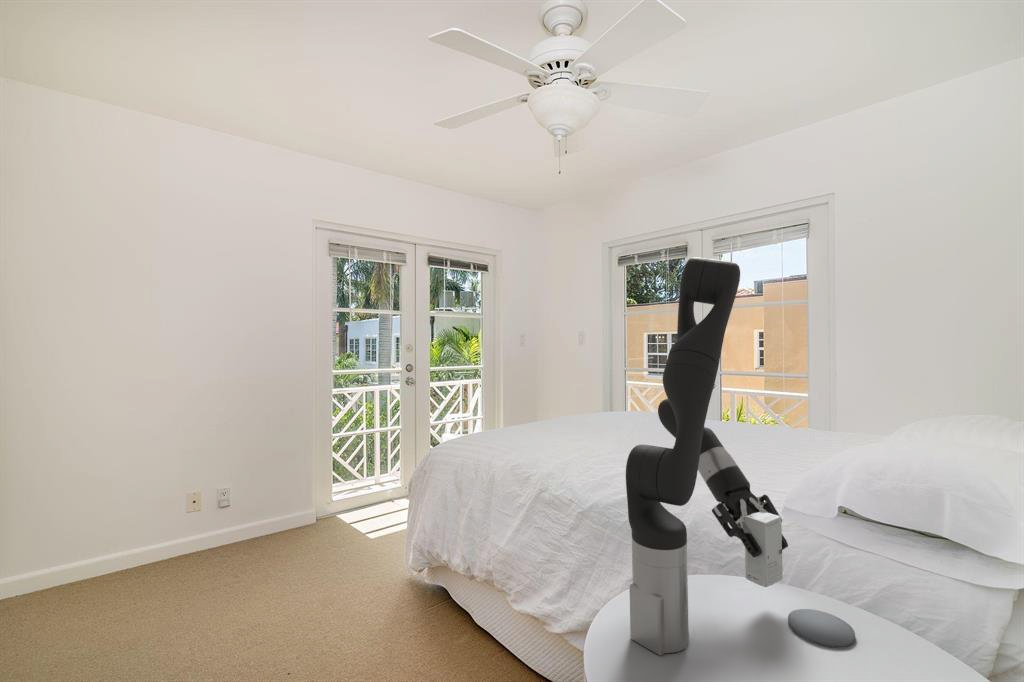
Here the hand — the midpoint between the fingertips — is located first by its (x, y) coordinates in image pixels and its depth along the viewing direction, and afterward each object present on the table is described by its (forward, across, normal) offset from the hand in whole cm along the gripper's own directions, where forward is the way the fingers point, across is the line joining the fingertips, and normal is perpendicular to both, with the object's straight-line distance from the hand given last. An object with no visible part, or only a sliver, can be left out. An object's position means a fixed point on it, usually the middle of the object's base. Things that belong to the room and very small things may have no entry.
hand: (771, 551), depth 92 cm
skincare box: (+3, 0, +6) cm, 6 cm away
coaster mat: (+13, +2, +2) cm, 14 cm away
